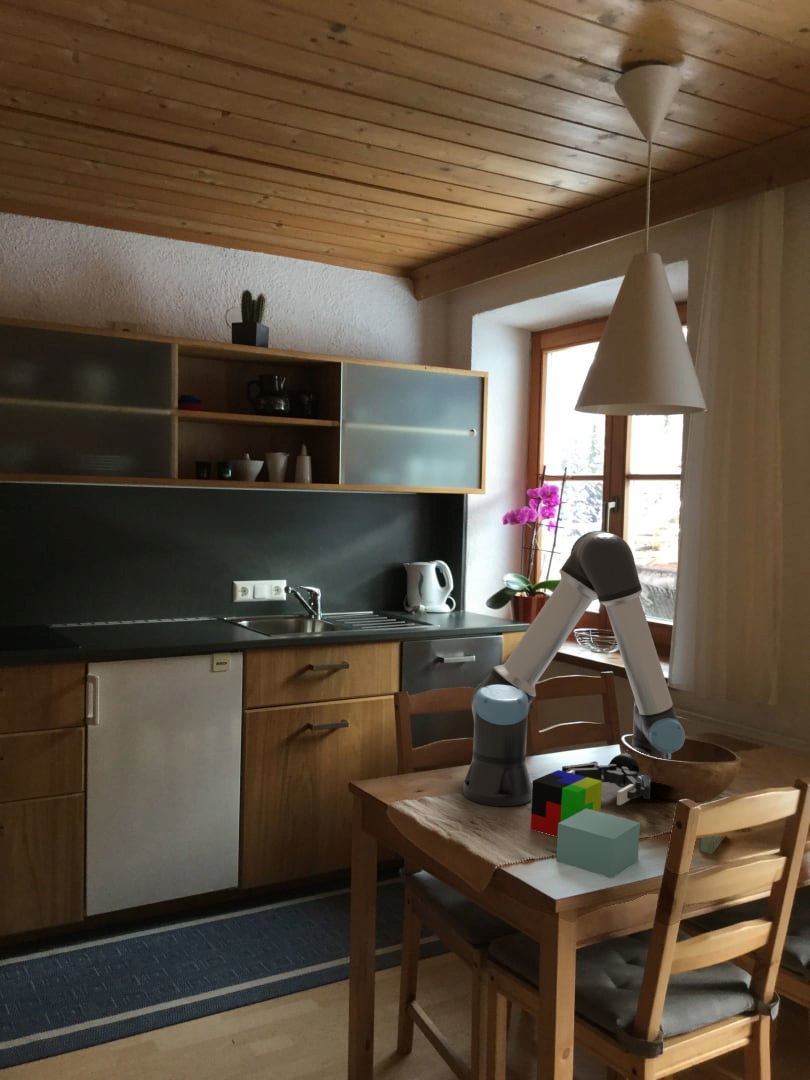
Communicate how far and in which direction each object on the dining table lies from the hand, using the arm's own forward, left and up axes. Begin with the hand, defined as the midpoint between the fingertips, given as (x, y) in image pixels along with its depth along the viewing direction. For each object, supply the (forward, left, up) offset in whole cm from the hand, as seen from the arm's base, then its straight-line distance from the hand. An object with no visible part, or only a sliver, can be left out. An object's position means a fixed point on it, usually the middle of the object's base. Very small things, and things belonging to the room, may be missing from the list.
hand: (587, 790), depth 193 cm
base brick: (+12, -19, -6) cm, 23 cm away
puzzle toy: (0, -9, -6) cm, 11 cm away
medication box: (+25, +5, -6) cm, 26 cm away
